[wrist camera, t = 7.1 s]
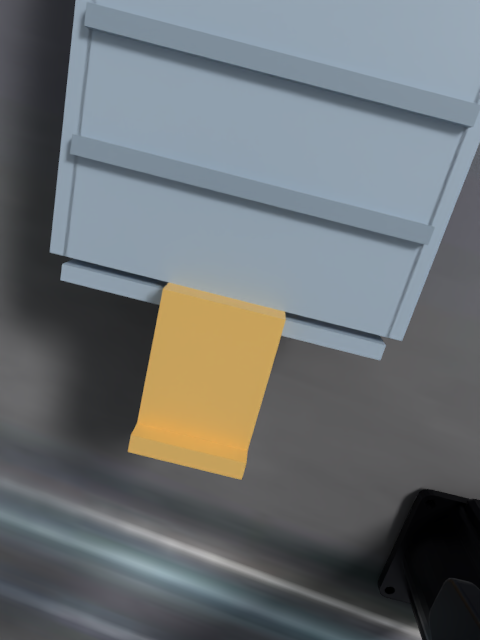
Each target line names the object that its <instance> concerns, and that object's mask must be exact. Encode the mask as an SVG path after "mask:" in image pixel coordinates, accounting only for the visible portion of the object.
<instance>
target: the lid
mask: <svg viewBox="0 0 480 640" xmlns="http://www.w3.org/2000/svg"><path fill="white" fill-rule="evenodd" d="M479 142H480V0H76V2H75V11H74V21H73V31H72V41H71V50H70V60H69V70H68V79H67V89H66V99H65V108H64V118H63V128H62V138H61V147H60V157H59V167H58V176H57V186H56V196H55V206H54V215H53V225H52V235H51V244H50V253H54V254H58V255H62V256H66V257H70V258H74V259H72V260H70V261H68V262H65V263H63V264H62V270H61V279H60V280H62V281H66V282H70V283H74V284H78V285H82V286H86V287H90V288H94V289H98V290H102V291H106V292H110V293H114V294H118V295H122V296H126V297H129V298H133V299H137V300H141V301H145V302H149V303H153V304H157V305H160V307H159V312H158V317H157V322H156V327H155V333H154V338H153V343H152V348H151V353H150V359H149V364H148V369H147V374H146V379H145V385H144V390H143V395H142V400H141V405H140V411H139V416H138V421H137V424H136V426H135V428H134V430H133V432H132V434H131V437H130V442H129V448H128V452H130V453H134V454H138V455H143V456H147V457H151V458H155V459H159V460H163V461H167V462H171V463H175V464H179V465H183V466H187V467H191V468H196V469H200V470H204V471H208V472H212V473H216V474H220V475H224V476H228V477H232V478H236V479H240V480H242V477H243V473H244V470H245V467H246V463H247V451H248V447H249V444H250V440H251V437H252V433H253V430H254V427H255V423H256V420H257V416H258V413H259V410H260V406H261V403H262V399H263V396H264V392H265V389H266V386H267V382H268V379H269V375H270V372H271V369H272V365H273V362H274V358H275V355H276V352H277V348H278V345H279V341H280V338H281V336H285V337H289V338H293V339H297V340H301V341H305V342H309V343H313V344H317V345H321V346H325V347H329V348H333V349H337V350H341V351H345V352H349V353H353V354H357V355H361V356H365V357H369V358H373V359H376V360H381V357H382V354H383V352H384V349H385V346H386V345H385V343H384V342H383V340H382V339H381V337H380V336H384V337H388V338H392V339H396V340H400V341H402V340H403V337H404V334H405V332H406V329H407V327H408V324H409V322H410V319H411V317H412V314H413V311H414V309H415V306H416V304H417V301H418V299H419V296H420V293H421V291H422V288H423V286H424V283H425V281H426V278H427V276H428V273H429V270H430V268H431V265H432V263H433V260H434V258H435V255H436V252H437V250H438V247H439V245H440V242H441V240H442V237H443V235H444V232H445V229H446V227H447V224H448V222H449V219H450V217H451V214H452V211H453V209H454V206H455V204H456V201H457V199H458V196H459V194H460V191H461V188H462V186H463V183H464V181H465V178H466V176H467V173H468V171H469V168H470V165H471V163H472V160H473V158H474V155H475V153H476V150H477V147H478V145H479ZM379 335H380V336H379Z"/></svg>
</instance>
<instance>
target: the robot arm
mask: <svg viewBox="0 0 480 640" xmlns="http://www.w3.org/2000/svg"><path fill="white" fill-rule="evenodd" d="M428 500H432V501H431V502H429V503H426V501H428ZM378 587H379V591H380V594H381V595H382V596H384V597H386V598H390V599H394V600H398V601H403V602H407V603H411V606H412V609H413V612H414V615H415V618H416V622H417V625H418V628H419V631H420V634H421V637H422V640H480V500H477V499H467V498H463V497H459V496H455V495H451V494H447V493H443V492H439V491H435V490H429V489H427V490H423V491H422V492H420V493H419V494H418V496H417V498H416V500H415V502H414V504H413V507H412V509H411V511H410V513H409V515H408V518H407V520H406V522H405V524H404V526H403V528H402V531H401V533H400V535H399V537H398V539H397V541H396V544H395V546H394V548H393V550H392V552H391V555H390V557H389V559H388V561H387V563H386V565H385V568H384V570H383V572H382V574H381V576H380V578H379V581H378Z"/></svg>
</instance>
